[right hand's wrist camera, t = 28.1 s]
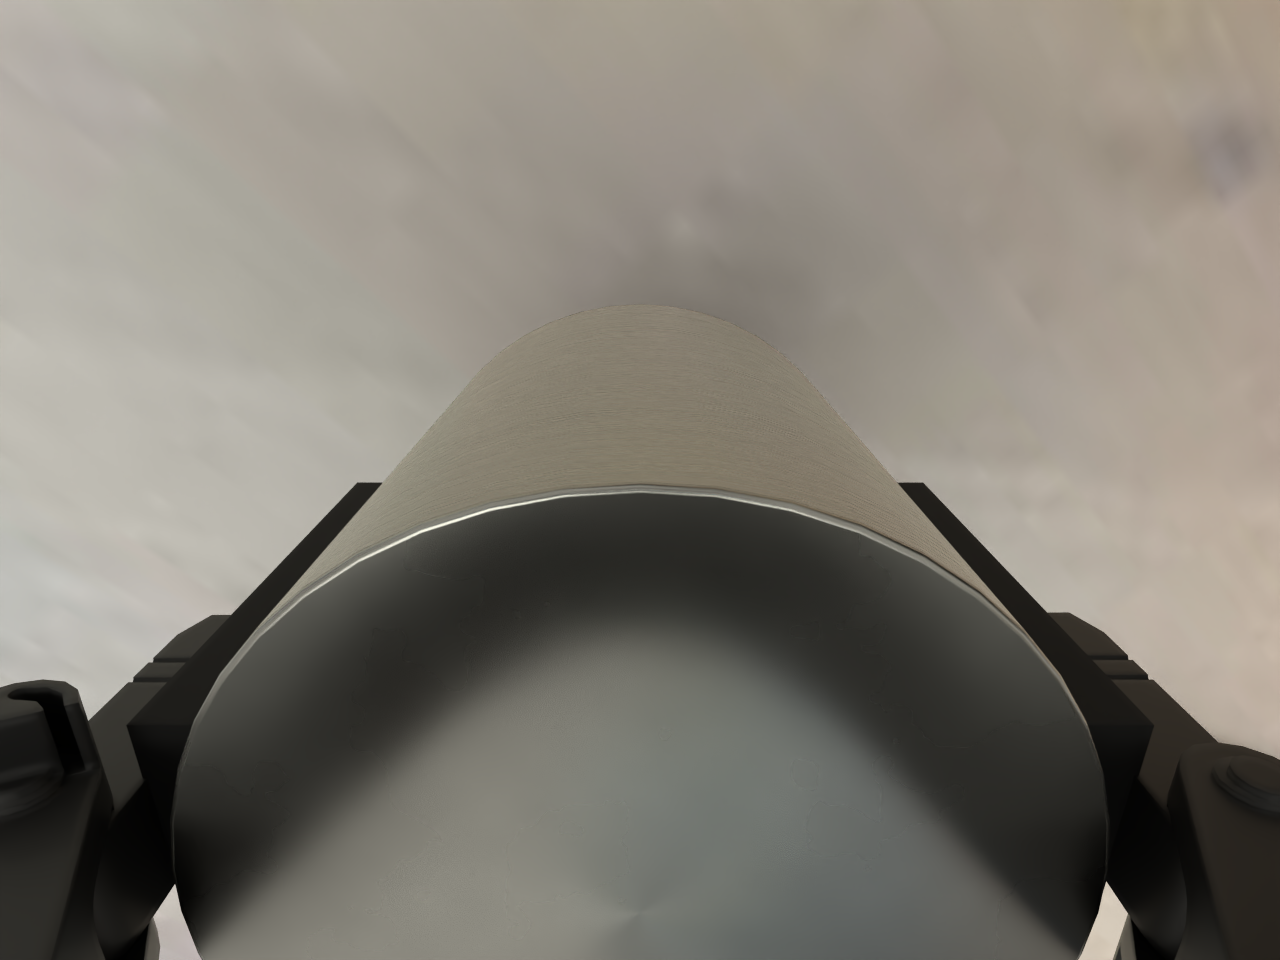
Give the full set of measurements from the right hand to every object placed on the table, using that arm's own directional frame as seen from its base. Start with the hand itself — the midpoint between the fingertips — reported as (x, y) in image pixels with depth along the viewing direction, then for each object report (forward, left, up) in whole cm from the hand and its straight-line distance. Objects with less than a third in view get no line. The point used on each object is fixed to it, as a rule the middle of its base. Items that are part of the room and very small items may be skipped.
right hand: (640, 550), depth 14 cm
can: (0, 0, -2) cm, 2 cm away
